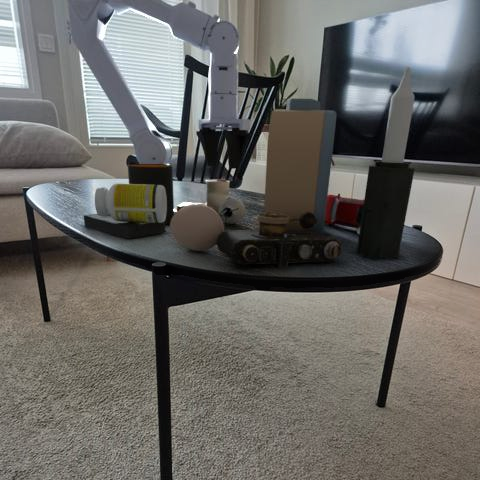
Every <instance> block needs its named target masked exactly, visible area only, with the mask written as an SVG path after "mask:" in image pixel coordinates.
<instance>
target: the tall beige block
mask: <svg viewBox="0 0 480 480" xmlns="http://www.w3.org/2000/svg"><path fill="white" fill-rule="evenodd" d="M285 108H286V109H284V108H275V109H273V110H272V111H271V114H270V119H269V126H268V135H267V147H266V148H267V149H266V166H265V185H264V186H265V187H264V203H263V205H264V206H263V214H265V213H280V214H282V215H286V216H288V217H289V221H290V220H293V219H300V217H301V215H302V214H303V213H306V212H311V213H313V214H314V216H315V218H317V224H314V225H313V227H312V228H310V229H304V228H302V226H301V225H300V223H299V220H293V221H290V222H289V223H287V224H286V230H313V231H316V232H318V233H321V234H324V231H325V224H326V223H325V214H326V205H327V196H328V195H329V187H330V178H331V168H332V160H333V149H334V142H335V133H336V122H337V112H336V111H335V110H329V109H328V110H327V109H323V110H322V109H321V102H320V101H319V100H318V99H315V98H314V99H313V98H290V99H288V100H287V101H286V106H285Z"/></svg>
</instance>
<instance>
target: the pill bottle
mask: <svg viewBox="0 0 480 480" xmlns="http://www.w3.org/2000/svg"><path fill="white" fill-rule="evenodd" d="M94 208H95V212H96V214H98V215H99V216H104V217H106V216H109V215H111V217H112V218H113V219H114V220H115V221H121V222H151V223H163V222H164V221H165V219H166V213H167V198H166V191H165V188H164V186H162V185H147V184H129V183H113V184H112V185H111V186H110V187H109V188H108V187H96V189H95V193H94Z"/></svg>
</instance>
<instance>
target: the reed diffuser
mask: <svg viewBox="0 0 480 480" xmlns="http://www.w3.org/2000/svg"><path fill="white" fill-rule="evenodd" d="M219 213H220V214H219V215H220V217H221V218H222V220H223V221H222V222H223V225H224V227H225V226H226V224H229V225H233V224H236V223H239V222H241V221H242V220H243V219H244V217H245V215H246V206H245V204H244V203H243V201H242V200H240V199H238V198H231V197H229V198H228V199H226V200H224V202H223V203H222V204H221V206H220V209H219Z"/></svg>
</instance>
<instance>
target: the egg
mask: <svg viewBox="0 0 480 480" xmlns="http://www.w3.org/2000/svg"><path fill="white" fill-rule="evenodd" d="M223 224H224V221H222V219H221V217H220V216H219V214H218V213H217V212H216V211H215V210H213V209H212V208H210V207H208V206H205V205H199V204H195V205H188V206H185V207H183V208H181V209H180V210H179V211H177V212H176V213H175V214H174V216H173V217H172V219H171V223H169V228H170V232H171V235H172V237H173V238H174V240H175V241H176V242H177V243H178V244H179V245H180V246H182V247H183V248H185V249H188V250H190V251H195V252H203V251H208V250H210V249H213V248H214V247H215V246H217V238H218V236H219V235H220V234H221V233H222V232H223V231H225V226H224V225H223Z"/></svg>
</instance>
